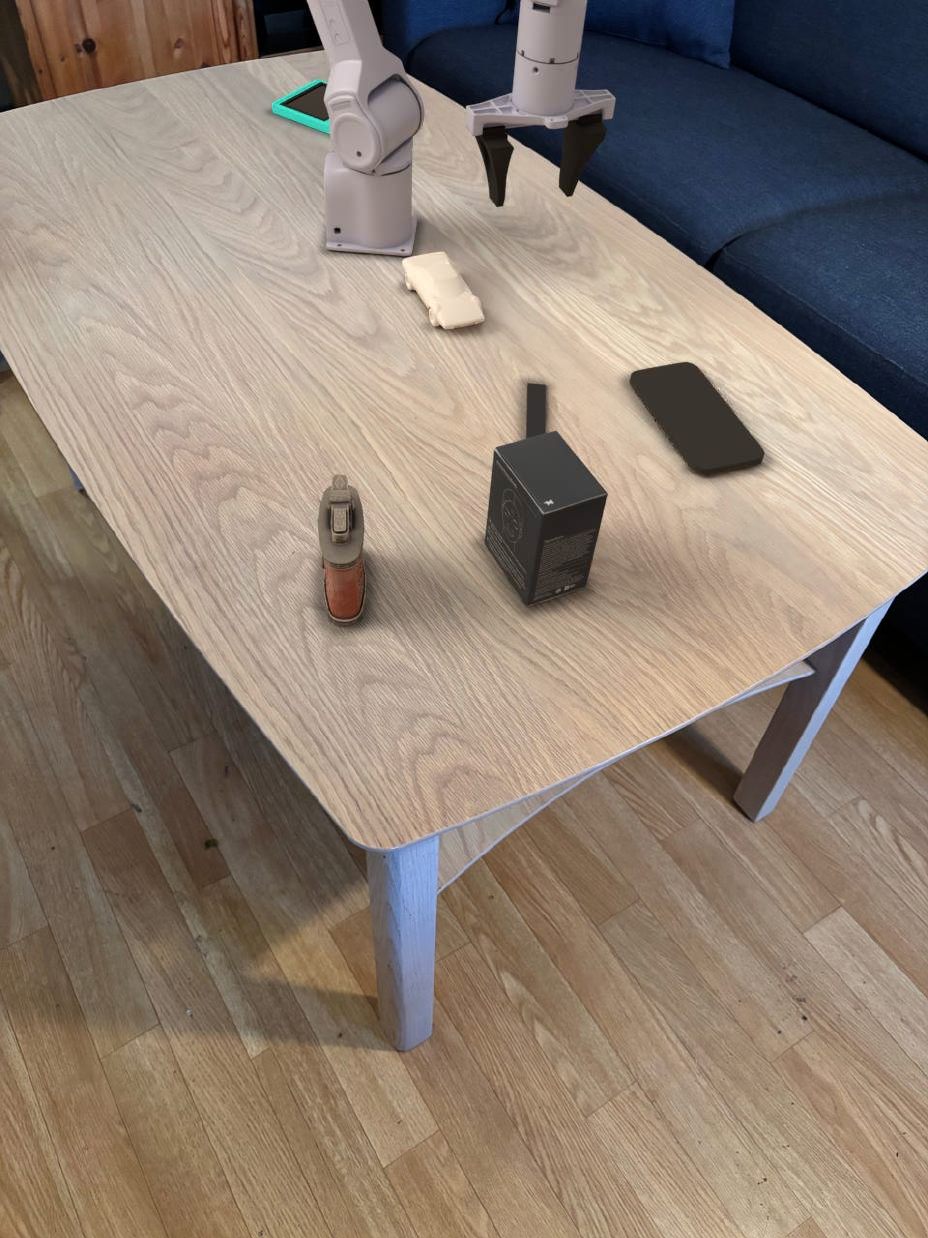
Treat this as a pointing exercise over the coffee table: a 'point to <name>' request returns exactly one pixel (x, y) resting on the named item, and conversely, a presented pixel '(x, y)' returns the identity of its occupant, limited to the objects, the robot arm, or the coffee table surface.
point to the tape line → (536, 410)
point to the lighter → (342, 552)
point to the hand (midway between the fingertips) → (531, 196)
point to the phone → (696, 418)
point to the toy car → (442, 290)
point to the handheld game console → (305, 106)
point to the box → (543, 516)
